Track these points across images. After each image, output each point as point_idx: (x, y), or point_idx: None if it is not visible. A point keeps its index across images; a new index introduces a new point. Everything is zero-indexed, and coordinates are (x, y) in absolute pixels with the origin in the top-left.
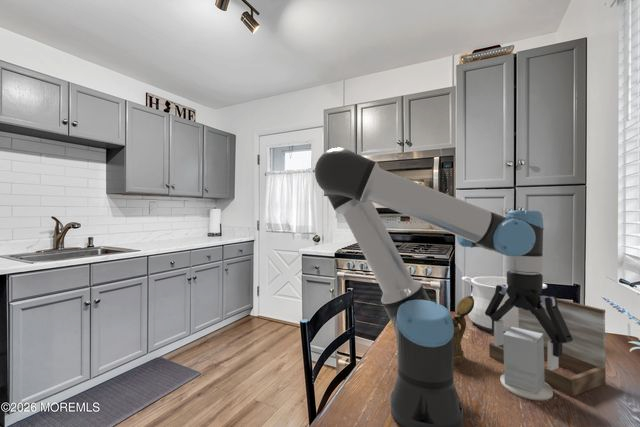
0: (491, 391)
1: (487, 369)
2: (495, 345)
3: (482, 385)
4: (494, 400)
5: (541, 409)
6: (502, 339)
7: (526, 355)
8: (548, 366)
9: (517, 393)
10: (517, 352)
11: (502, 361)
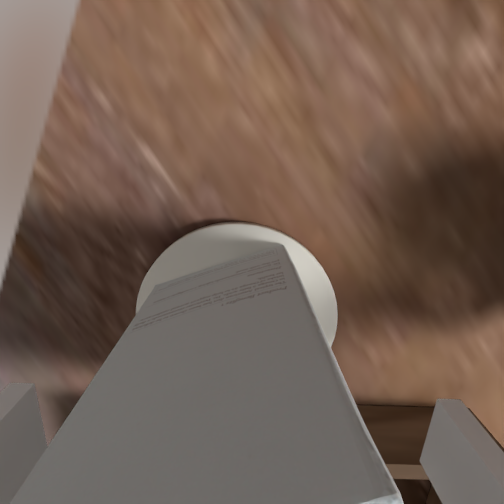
0: (287, 144)
1: (412, 305)
2: (446, 400)
3: (343, 152)
4: (231, 82)
5: (103, 218)
6: (445, 495)
7: (140, 392)
8: (10, 398)
9: (209, 226)
10: (206, 374)
11: (406, 412)
